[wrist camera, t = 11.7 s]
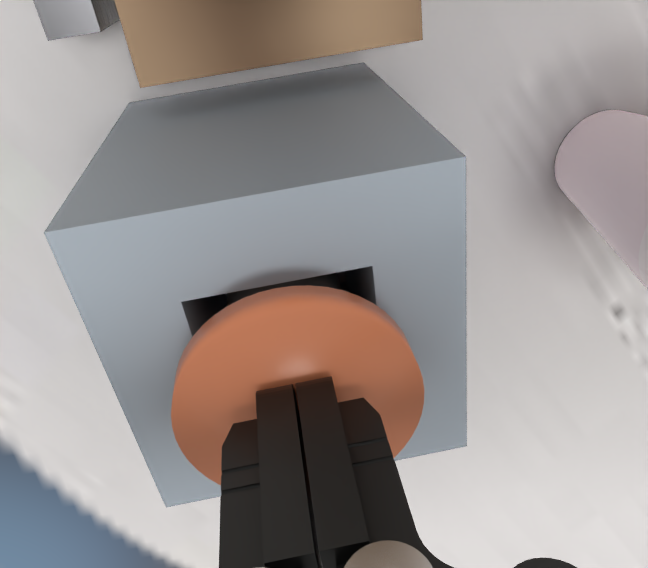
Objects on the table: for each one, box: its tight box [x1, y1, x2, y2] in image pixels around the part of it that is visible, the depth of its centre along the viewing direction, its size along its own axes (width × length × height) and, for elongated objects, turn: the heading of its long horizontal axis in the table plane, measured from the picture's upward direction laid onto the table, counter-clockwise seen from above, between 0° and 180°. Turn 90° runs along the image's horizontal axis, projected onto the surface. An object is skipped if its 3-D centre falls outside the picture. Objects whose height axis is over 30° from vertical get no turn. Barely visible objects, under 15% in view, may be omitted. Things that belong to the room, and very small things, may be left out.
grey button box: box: [44, 63, 467, 507], centre depth 17 cm, size 8×8×10 cm
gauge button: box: [171, 273, 424, 485], centre depth 14 cm, size 5×5×7 cm
